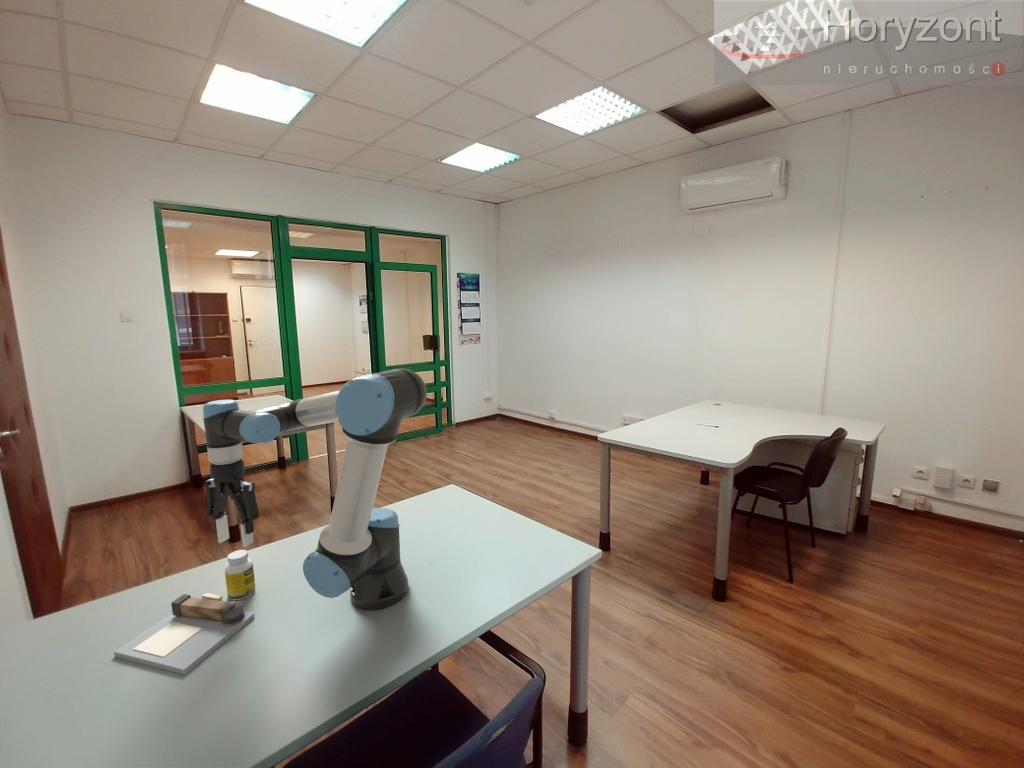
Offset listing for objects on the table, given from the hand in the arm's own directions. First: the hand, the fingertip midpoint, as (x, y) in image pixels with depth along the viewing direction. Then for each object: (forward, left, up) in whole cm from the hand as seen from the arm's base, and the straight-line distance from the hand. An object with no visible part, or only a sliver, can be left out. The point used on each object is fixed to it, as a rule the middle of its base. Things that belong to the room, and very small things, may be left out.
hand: (236, 542), depth 117 cm
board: (-1, +16, -15) cm, 22 cm away
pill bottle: (0, 0, -15) cm, 15 cm away
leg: (-1, +11, -13) cm, 17 cm away
